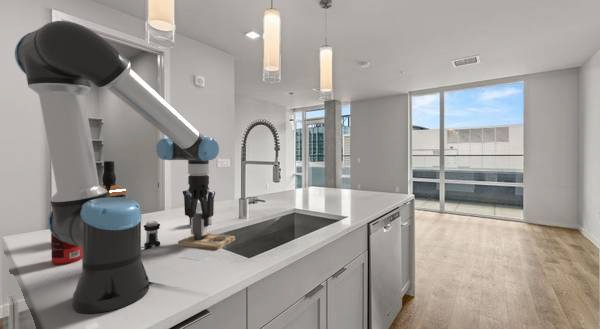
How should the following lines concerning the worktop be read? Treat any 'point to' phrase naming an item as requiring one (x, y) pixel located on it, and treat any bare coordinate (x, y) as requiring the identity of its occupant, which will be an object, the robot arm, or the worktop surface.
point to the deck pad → (196, 254)
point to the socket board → (207, 241)
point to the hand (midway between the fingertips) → (199, 234)
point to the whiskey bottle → (111, 181)
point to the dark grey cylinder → (198, 226)
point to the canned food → (64, 252)
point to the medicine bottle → (201, 211)
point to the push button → (151, 235)
